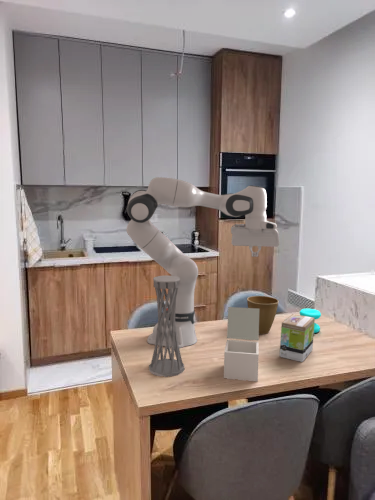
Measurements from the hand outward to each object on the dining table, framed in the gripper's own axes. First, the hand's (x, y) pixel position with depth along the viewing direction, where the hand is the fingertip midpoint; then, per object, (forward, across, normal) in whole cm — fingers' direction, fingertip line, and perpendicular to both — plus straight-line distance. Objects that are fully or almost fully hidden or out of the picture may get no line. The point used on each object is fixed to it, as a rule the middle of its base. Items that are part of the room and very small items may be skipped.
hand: (254, 256), depth 164 cm
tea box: (+40, +18, -7) cm, 44 cm away
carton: (+39, -4, -29) cm, 49 cm away
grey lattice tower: (+39, -32, -32) cm, 59 cm away
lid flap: (+23, -4, -21) cm, 31 cm away
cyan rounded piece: (+40, +27, +23) cm, 53 cm away
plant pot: (+40, +4, +17) cm, 43 cm away
